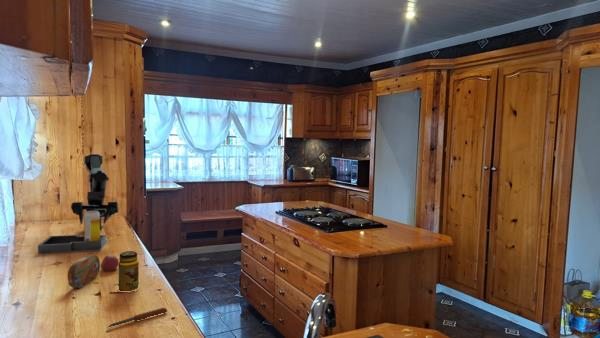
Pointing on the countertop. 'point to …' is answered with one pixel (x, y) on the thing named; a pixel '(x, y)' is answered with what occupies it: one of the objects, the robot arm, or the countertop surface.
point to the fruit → (109, 263)
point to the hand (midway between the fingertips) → (92, 223)
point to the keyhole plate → (70, 244)
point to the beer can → (92, 226)
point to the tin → (83, 271)
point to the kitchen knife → (141, 316)
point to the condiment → (128, 271)
